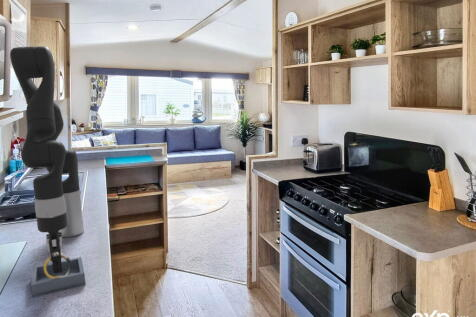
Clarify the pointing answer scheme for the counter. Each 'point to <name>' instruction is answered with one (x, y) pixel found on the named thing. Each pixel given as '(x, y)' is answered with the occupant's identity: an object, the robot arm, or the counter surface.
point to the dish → (47, 285)
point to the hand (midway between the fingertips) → (57, 266)
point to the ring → (62, 257)
